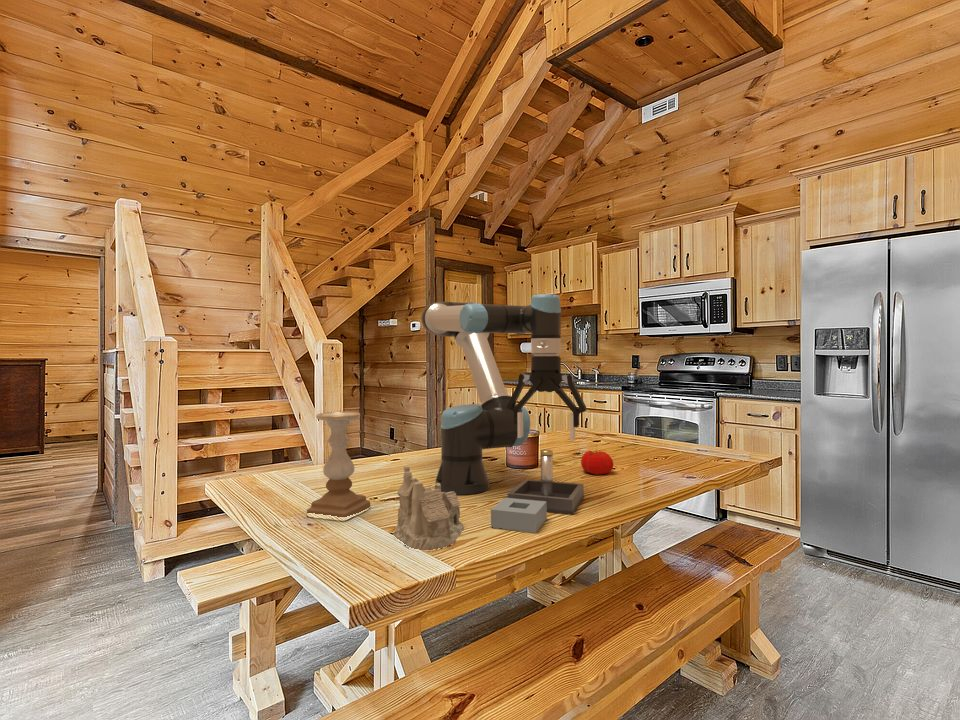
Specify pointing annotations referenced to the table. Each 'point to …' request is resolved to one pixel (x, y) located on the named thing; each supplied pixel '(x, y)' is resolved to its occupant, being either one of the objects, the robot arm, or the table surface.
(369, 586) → the table surface
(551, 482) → the pin
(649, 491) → the table surface
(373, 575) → the table surface
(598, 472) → the tomato
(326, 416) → the candle holder
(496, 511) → the pin block
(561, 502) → the tray
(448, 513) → the ceramic cottage
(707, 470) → the table surface
